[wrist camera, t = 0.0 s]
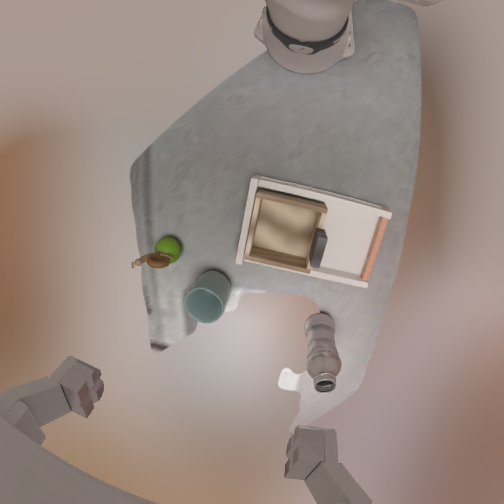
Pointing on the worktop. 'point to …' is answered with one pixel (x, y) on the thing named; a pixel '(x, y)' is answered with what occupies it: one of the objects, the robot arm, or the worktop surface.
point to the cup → (208, 297)
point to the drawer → (287, 231)
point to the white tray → (331, 231)
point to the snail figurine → (161, 254)
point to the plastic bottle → (322, 352)
